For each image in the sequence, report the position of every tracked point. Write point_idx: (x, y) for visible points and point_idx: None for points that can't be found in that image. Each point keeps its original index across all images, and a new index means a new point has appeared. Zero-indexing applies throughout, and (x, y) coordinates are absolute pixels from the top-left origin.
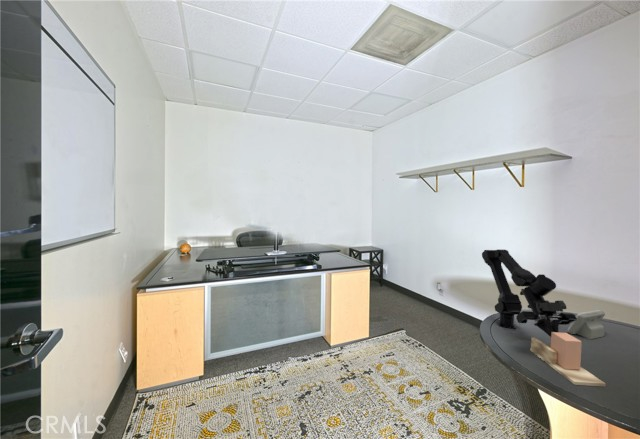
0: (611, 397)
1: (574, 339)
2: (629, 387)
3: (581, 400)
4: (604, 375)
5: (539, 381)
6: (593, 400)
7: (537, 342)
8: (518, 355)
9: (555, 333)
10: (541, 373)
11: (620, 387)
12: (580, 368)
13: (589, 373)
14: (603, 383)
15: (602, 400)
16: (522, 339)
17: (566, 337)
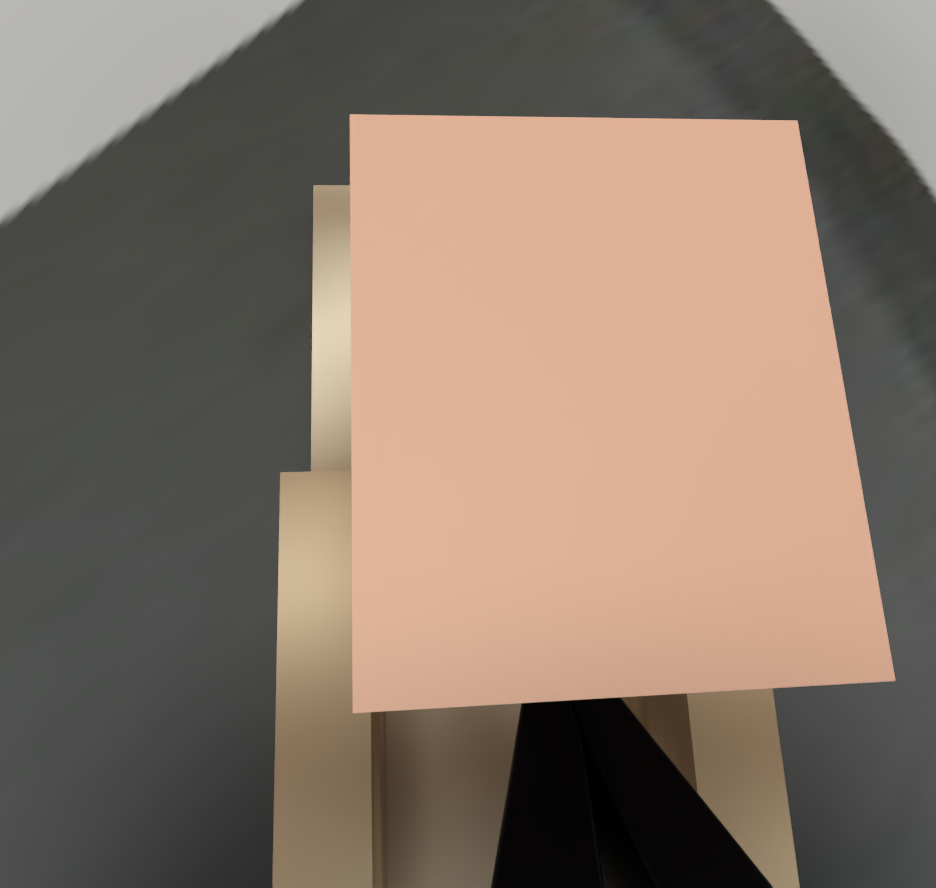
0: (412, 70)
1: (471, 219)
2: (61, 215)
3: (714, 23)
4: (122, 396)
5: (929, 224)
6: (611, 29)
7: (781, 846)
8: (926, 719)
9: (815, 582)
10: (839, 353)
11: (165, 207)
12: (350, 435)
13: (328, 342)
14: (335, 185)
15: (532, 33)
16: None
17: (634, 320)
